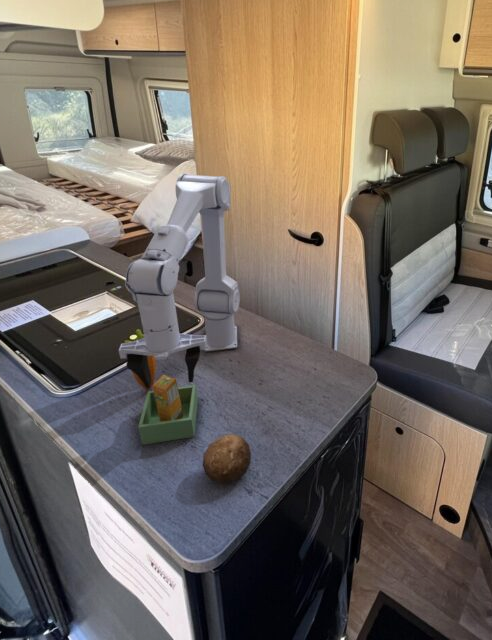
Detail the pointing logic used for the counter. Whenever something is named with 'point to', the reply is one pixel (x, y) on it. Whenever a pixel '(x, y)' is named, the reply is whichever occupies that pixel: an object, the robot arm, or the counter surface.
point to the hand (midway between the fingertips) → (170, 381)
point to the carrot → (150, 362)
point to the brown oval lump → (227, 459)
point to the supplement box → (167, 399)
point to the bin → (172, 429)
